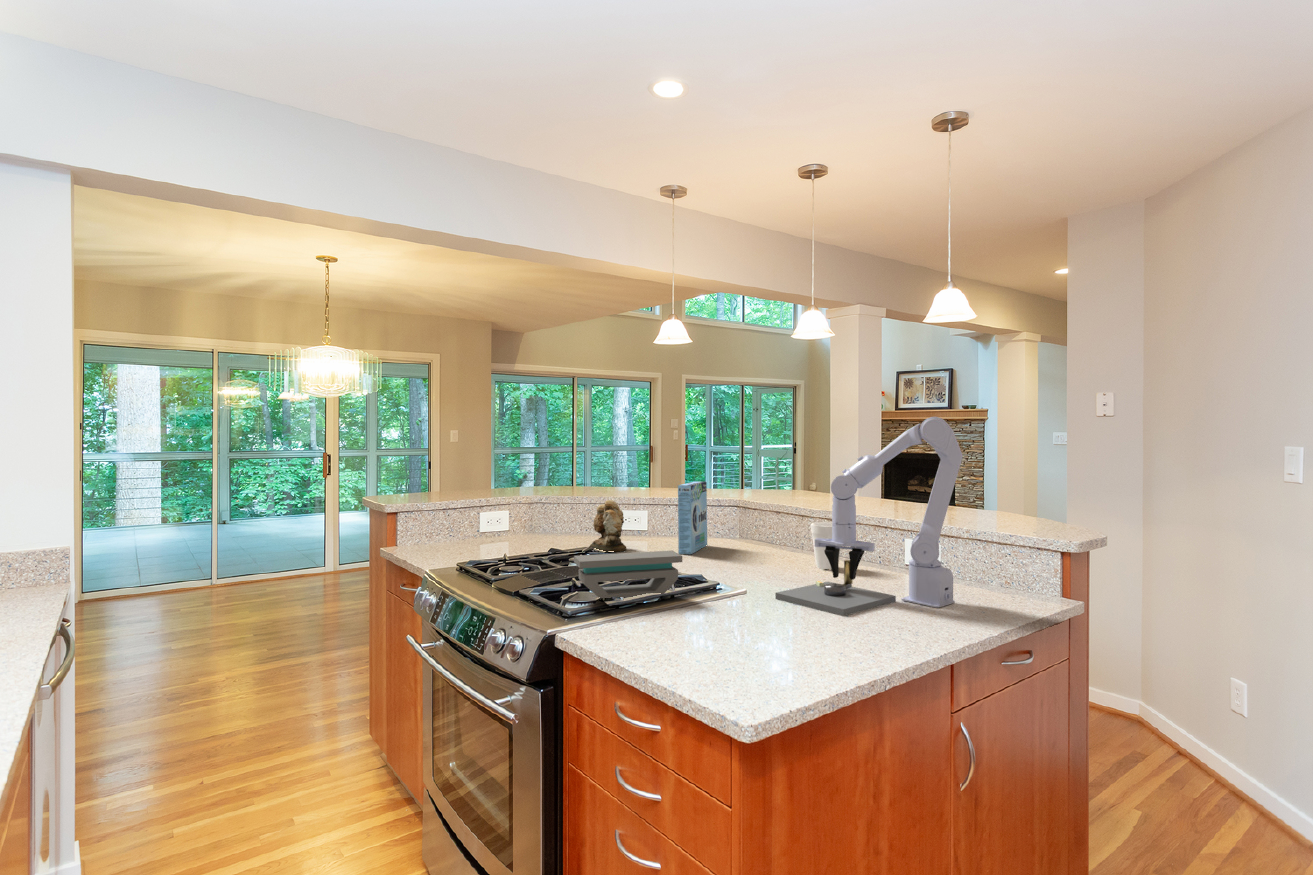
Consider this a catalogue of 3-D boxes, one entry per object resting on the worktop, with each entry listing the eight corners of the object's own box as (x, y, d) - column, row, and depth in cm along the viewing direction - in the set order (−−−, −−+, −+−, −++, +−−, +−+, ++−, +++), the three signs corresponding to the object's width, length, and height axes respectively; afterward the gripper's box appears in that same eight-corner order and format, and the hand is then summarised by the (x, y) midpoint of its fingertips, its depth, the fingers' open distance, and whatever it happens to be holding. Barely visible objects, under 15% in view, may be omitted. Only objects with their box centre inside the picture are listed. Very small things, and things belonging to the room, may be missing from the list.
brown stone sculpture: (582, 546, 246) (582, 498, 246) (612, 544, 252) (612, 497, 252) (601, 554, 230) (601, 502, 230) (633, 551, 236) (634, 501, 236)
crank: (839, 597, 164) (839, 567, 164) (820, 593, 167) (820, 564, 167) (859, 589, 172) (859, 561, 172) (840, 586, 175) (840, 558, 175)
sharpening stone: (672, 593, 175) (672, 550, 175) (682, 600, 168) (682, 555, 168) (574, 600, 168) (573, 555, 168) (579, 608, 161) (579, 561, 161)
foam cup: (807, 569, 205) (807, 525, 204) (815, 564, 213) (815, 521, 213) (839, 572, 200) (839, 527, 200) (846, 566, 208) (846, 523, 208)
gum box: (691, 554, 229) (691, 485, 229) (677, 554, 231) (676, 485, 230) (707, 545, 247) (707, 481, 247) (694, 544, 249) (694, 481, 249)
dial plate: (895, 601, 166) (895, 592, 166) (843, 615, 154) (843, 605, 153) (827, 587, 182) (827, 578, 182) (775, 598, 169) (775, 589, 169)
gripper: (810, 523, 174) (810, 577, 174) (869, 527, 166) (869, 584, 166) (819, 520, 180) (819, 572, 180) (876, 523, 172) (876, 578, 172)
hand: (844, 577), depth 173 cm, fingers open, 4 cm apart
